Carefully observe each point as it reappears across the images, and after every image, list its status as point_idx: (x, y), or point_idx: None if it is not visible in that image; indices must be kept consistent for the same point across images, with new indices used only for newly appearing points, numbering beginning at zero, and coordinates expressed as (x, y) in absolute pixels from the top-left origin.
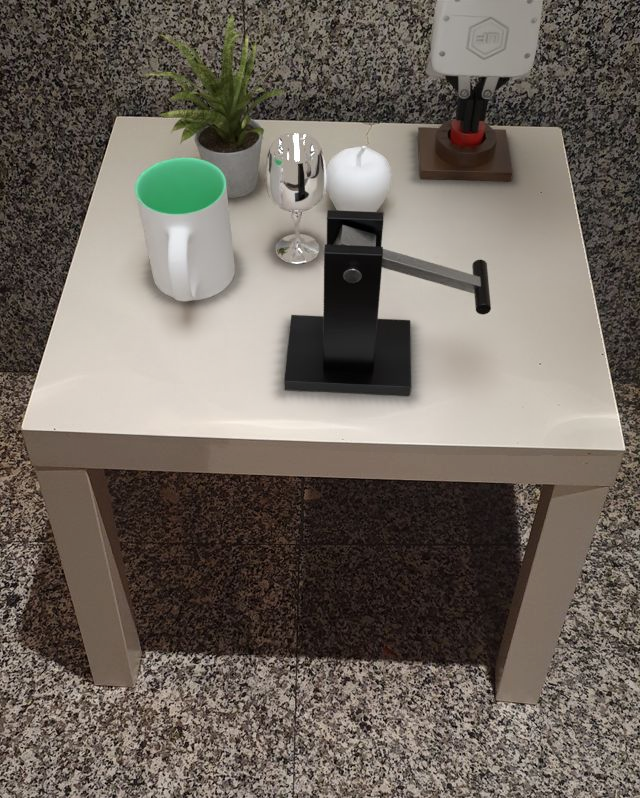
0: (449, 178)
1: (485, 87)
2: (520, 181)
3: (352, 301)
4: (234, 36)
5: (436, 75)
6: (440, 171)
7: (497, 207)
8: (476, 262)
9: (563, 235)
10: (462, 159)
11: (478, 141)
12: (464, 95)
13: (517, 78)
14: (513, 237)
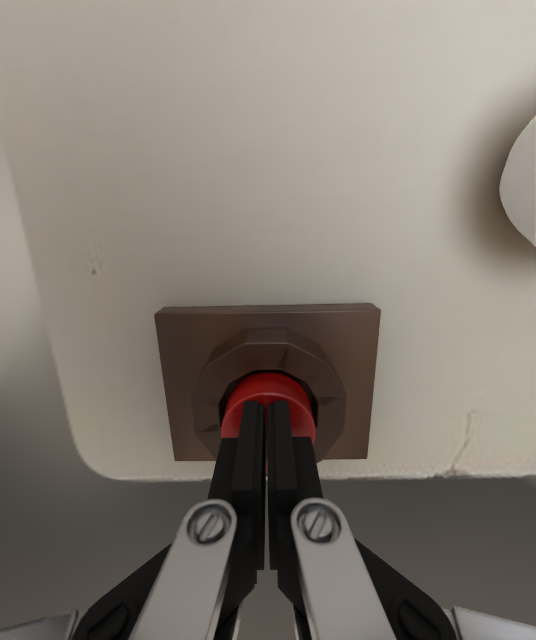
0: (304, 305)
1: (218, 558)
2: (142, 309)
3: None
4: None
5: (502, 632)
6: (331, 309)
7: (193, 208)
8: None
9: (23, 99)
10: (280, 334)
11: (238, 388)
12: (315, 511)
13: (39, 626)
14: (150, 79)
